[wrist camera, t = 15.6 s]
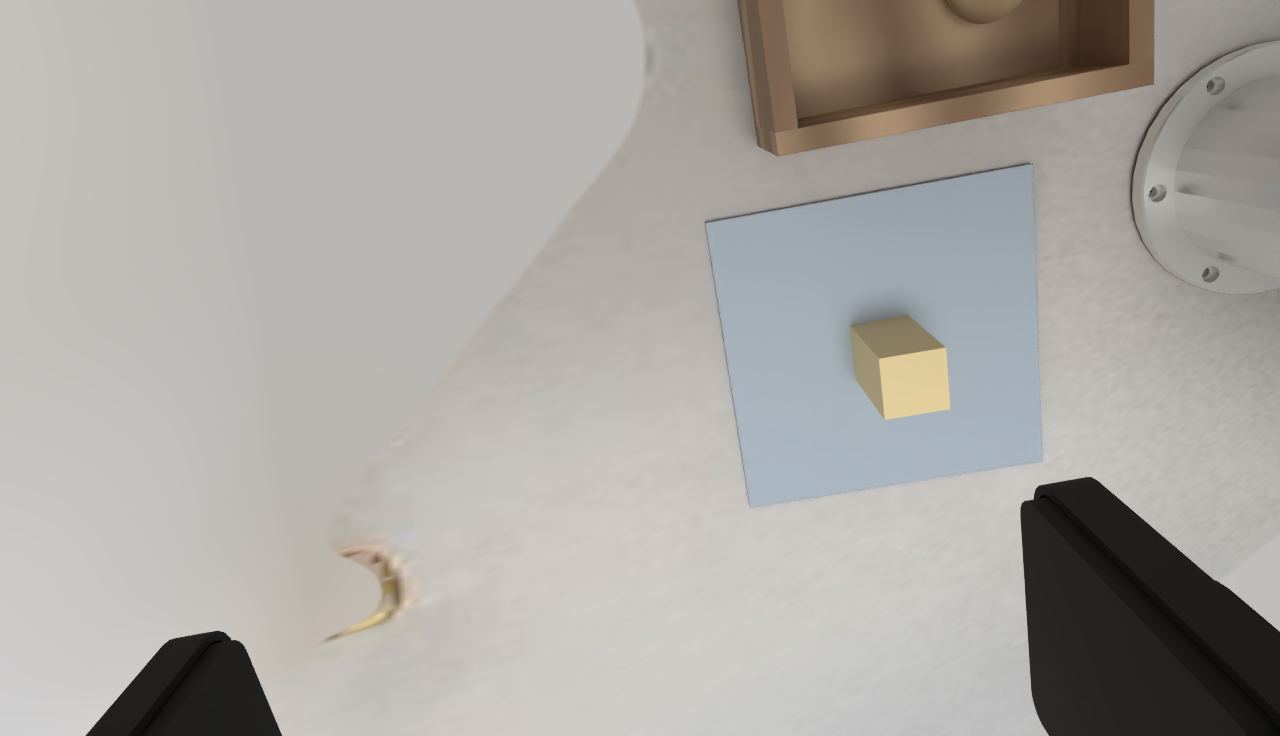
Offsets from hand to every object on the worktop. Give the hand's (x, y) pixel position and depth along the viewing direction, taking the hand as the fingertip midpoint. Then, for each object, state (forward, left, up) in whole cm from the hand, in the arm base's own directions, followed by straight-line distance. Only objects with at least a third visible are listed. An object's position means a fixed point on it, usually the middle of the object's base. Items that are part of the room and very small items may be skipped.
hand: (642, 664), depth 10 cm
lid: (-12, +9, -37) cm, 40 cm away
